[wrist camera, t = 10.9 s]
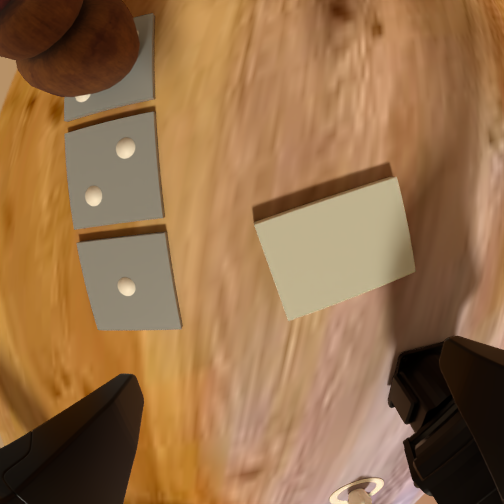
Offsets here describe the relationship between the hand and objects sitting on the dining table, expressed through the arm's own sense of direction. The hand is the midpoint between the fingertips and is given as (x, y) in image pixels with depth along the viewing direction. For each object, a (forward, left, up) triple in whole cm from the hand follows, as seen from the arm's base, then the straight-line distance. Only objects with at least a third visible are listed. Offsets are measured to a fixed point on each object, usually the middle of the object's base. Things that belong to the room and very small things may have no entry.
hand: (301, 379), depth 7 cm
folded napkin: (-5, 0, -13) cm, 14 cm away
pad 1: (+10, -14, -13) cm, 22 cm away
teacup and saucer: (-8, +38, -14) cm, 41 cm away
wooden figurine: (+10, -14, -13) cm, 22 cm away
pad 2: (+10, -6, -13) cm, 18 cm away
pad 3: (+10, +2, -13) cm, 16 cm away
